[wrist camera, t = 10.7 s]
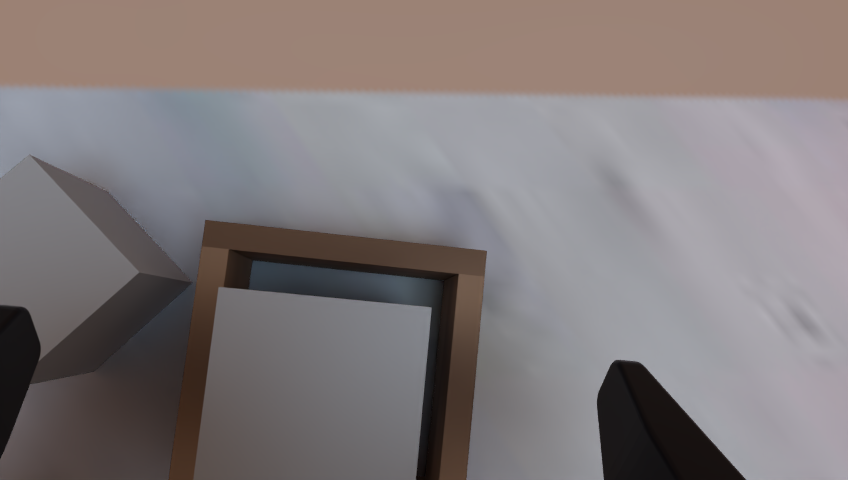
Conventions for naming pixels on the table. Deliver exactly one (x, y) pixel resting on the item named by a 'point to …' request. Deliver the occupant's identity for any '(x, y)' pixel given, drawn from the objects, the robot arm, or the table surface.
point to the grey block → (77, 268)
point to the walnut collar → (458, 267)
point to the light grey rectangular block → (312, 388)
